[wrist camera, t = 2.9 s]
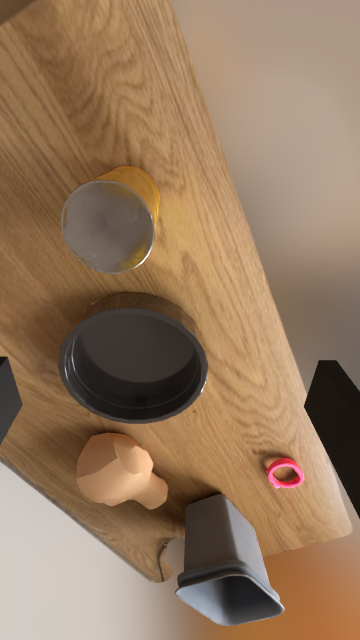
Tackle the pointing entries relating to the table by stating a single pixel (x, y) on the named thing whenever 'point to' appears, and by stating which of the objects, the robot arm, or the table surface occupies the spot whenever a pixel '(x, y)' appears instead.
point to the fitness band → (285, 462)
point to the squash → (118, 472)
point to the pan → (134, 359)
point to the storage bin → (224, 566)
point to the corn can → (112, 220)
